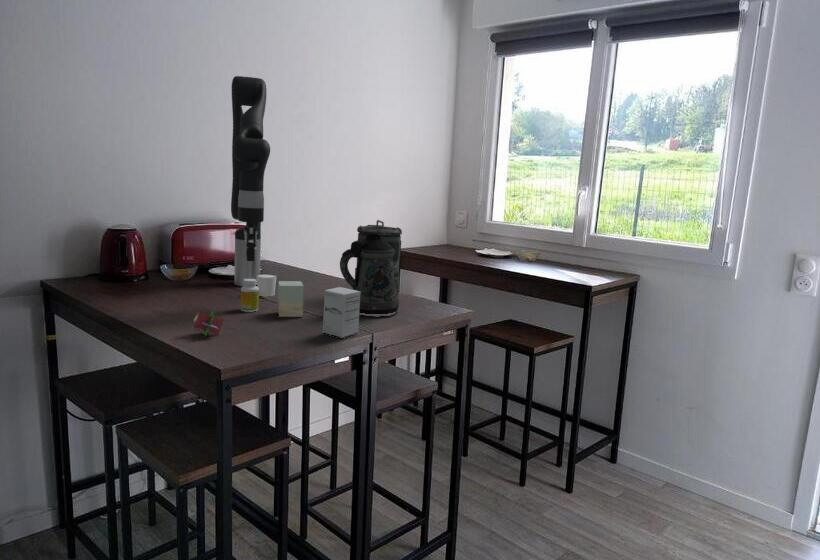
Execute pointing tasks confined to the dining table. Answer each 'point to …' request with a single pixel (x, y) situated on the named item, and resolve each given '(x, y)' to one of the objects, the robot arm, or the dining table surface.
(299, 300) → the tower top block
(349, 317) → the supplement box
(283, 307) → the tower base block
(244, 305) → the supplement bottle
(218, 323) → the geometric puzzle
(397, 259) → the canister
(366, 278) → the beer stein
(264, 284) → the shot glass
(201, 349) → the dining table surface
